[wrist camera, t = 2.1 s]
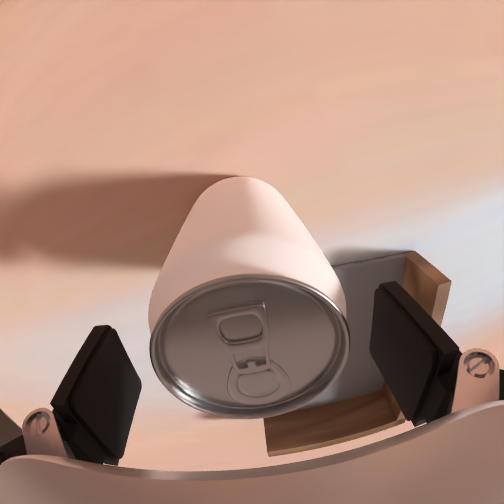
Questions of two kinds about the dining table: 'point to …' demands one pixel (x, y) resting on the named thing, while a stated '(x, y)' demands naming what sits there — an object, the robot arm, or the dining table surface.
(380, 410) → the corner walls
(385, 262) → the mat
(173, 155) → the dining table surface
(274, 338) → the can
